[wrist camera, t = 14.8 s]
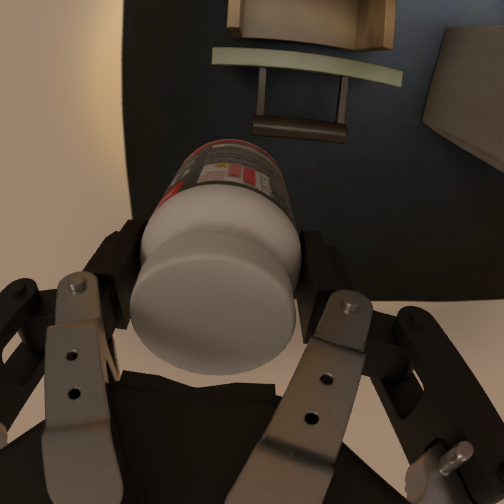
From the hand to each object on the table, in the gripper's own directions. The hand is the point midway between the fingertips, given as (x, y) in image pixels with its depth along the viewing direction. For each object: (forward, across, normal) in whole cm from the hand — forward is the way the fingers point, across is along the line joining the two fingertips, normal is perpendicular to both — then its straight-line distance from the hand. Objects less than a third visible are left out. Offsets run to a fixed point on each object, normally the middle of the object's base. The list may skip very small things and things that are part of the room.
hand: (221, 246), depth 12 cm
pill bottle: (+6, 0, 0) cm, 6 cm away
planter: (+20, -21, -6) cm, 30 cm away
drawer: (+19, -4, -11) cm, 22 cm away
